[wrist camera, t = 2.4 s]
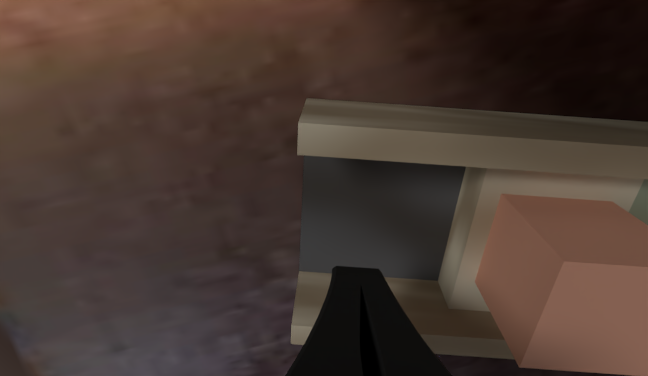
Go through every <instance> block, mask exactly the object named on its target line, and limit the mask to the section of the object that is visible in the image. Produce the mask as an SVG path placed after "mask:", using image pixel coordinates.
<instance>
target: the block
mask: <svg viewBox="0 0 648 376" xmlns="http://www.w3.org/2000/svg"><path fill="white" fill-rule="evenodd" d="M475 283H476V285H477V287H478V289H479V291H480V293H481V295H482V297H483V299H484V301H485V303H486V305H487V307H488V308H489V310H490V312H491V314H492V316H493V318H494V320H495V322H496V324H497V326H498V328H499V330H500V331H501V333H502V335H503V337H504V339H505V341H506V343H507V345H508V347H509V349H510V351H511V353H512V355H513V356H514V358H515V360H516V362H517V364H518V366H519V368H532V369H547V370H561V371H576V372H590V373H605V374H620V375H634V376H648V225H647V224H645V223H644V222H642V221H641V220H639V219H638V218H636V217H635V216H633V215H632V214H630V213H629V212H627V211H626V210H624V209H623V208H621V207H620V206H618V205H617V204H615V203H614V202H612V201H599V200H585V199H571V198H556V197H542V196H527V195H513V194H501V196H500V200H499V203H498V206H497V210H496V213H495V216H494V220H493V223H492V226H491V229H490V233H489V236H488V239H487V243H486V246H485V249H484V253H483V256H482V259H481V263H480V266H479V269H478V273H477V276H476V279H475Z"/></svg>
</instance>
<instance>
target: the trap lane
mask: <svg viewBox="0 0 648 376" xmlns="http://www.w3.org/2000/svg"><path fill="white" fill-rule="evenodd" d="M297 155H304V169H303V192H302V216H301V240H300V263H299V276H298V283H297V290H296V297H295V304H294V311H293V318H292V325H291V344H299V345H304V344H305V342H306V340H307V338H308V336H309V334H310V332H311V330H312V328H313V326H314V324H315V322H316V320H317V318H318V315H319V313H320V310H321V308H322V305H323V303H324V301H325V298H326V295H327V292H328V289H329V286H330V282H331V276H332V269H333V268H334V267H335V266H347V267H361V268H376V269H379V270H380V271H381V272H382V274H383V276H384V278H385V280H386V282H387V283H388V285H389V287H390V289H391V291H392V292H393V294H394V296H395V297H396V299H397V301H398V302H399V304H400V306H401V307H402V309H403V310H404V312H405V313H406V315H407V316H408V318H409V319H410V321H411V322H412V324H413V325H414V327H415V328H416V330H417V331H418V333H419V334H420V335H421V337H422V338H423V340H424V341H425V342H426V344H427V345H428V346H429V347H430V349H431V350H432V351H433V353H434V354H444V355H459V356H473V357H488V358H503V359H515V358H514V356H513V355H512V353H511V351H510V349H509V347H508V345H507V343H506V341H505V339H504V337H503V335H502V333H501V331H500V330H499V328H498V326H497V324H496V322H495V320H494V318H493V316H492V314H491V312H490V310H489V308H488V307H487V305H486V303H485V301H484V299H483V297H482V295H481V293H480V291H479V289H478V287H477V285H476V283H475V279H476V276H477V273H478V269H479V266H480V263H481V259H482V256H483V253H484V249H485V246H486V243H487V239H488V236H489V233H490V229H491V226H492V223H493V220H494V216H495V213H496V210H497V206H498V203H499V200H500V196H501V194H513V195H527V196H542V197H556V198H571V199H585V200H599V201H612V202H614V203H615V204H617V205H618V206H620V207H621V208H623V209H624V210H626V211H627V212H629V213H630V214H632V215H633V216H635V217H636V218H638V219H639V220H641V221H642V222H644V223H645V224H647V225H648V122H642V121H628V120H613V119H599V118H585V117H570V116H556V115H542V114H527V113H513V112H499V111H484V110H470V109H456V108H441V107H427V106H413V105H398V104H384V103H370V102H355V101H341V100H327V99H312V98H307V99H306V102H305V105H304V108H303V111H302V114H301V117H300V119H299V122H298V149H297Z"/></svg>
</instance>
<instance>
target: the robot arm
mask: <svg viewBox="0 0 648 376" xmlns="http://www.w3.org/2000/svg"><path fill="white" fill-rule="evenodd" d="M285 376H452V375H451V374H450V373H449V371H448V370H447V369H446V368H445V367H444V365H443V364H442V363H441V362H440V360H439V359H438V358H437V357H436V355H435V354H434V353H433V351H432V350H431V349H430V347H429V346H428V345H427V344H426V342H425V341H424V340H423V338H422V337H421V335H420V334H419V333H418V331H417V330H416V328H415V327H414V325H413V324H412V322H411V321H410V319H409V318H408V316H407V315H406V313H405V312H404V310H403V309H402V307H401V306H400V304H399V302H398V301H397V299H396V297H395V296H394V294H393V292H392V291H391V289H390V287H389V285H388V283H387V282H386V280H385V278H384V276H383V274H382V272H381V271H380V270H379V269H376V268H361V267H347V266H335V267H334V268H333V269H332V276H331V282H330V286H329V289H328V292H327V295H326V298H325V301H324V303H323V305H322V308H321V310H320V313H319V315H318V318H317V320H316V322H315V324H314V326H313V328H312V330H311V332H310V334H309V336H308V338H307V340H306V342H305V344H304V345H303V347H302V349H301V351H300V353H299V354H298V356H297V358H296V359H295V361H294V363H293V364H292V366H291V367H290V369H289V371H288V372H287V374H286V375H285Z"/></svg>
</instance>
